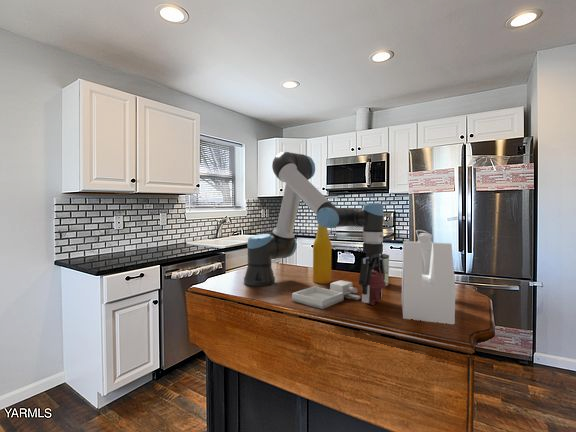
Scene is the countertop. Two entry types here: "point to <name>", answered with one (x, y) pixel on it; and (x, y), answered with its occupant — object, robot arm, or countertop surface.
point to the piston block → (343, 287)
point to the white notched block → (428, 284)
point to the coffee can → (386, 267)
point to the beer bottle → (322, 257)
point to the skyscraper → (425, 250)
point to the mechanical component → (375, 287)
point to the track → (352, 296)
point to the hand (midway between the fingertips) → (372, 299)
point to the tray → (318, 297)
